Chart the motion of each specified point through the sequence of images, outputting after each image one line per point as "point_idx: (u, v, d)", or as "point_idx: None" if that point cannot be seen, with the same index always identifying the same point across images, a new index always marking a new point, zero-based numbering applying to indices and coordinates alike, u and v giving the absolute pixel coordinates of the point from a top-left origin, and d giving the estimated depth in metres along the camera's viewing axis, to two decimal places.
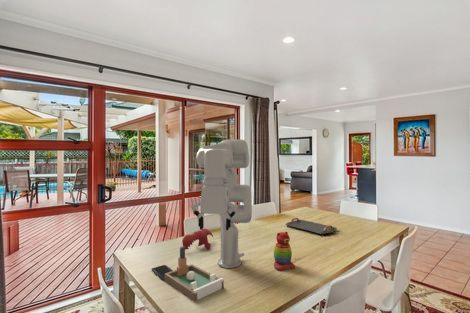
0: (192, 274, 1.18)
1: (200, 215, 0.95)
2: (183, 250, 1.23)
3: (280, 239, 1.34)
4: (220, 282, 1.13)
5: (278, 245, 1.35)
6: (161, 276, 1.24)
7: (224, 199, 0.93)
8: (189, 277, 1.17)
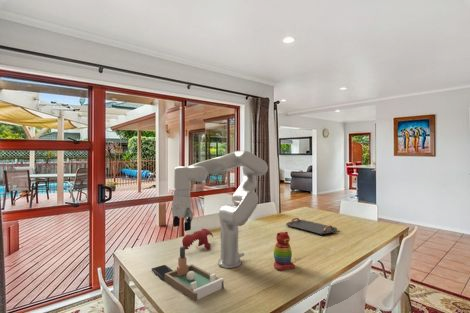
0: (192, 274, 1.18)
1: None
2: (183, 250, 1.23)
3: (280, 239, 1.34)
4: (220, 282, 1.13)
5: (278, 245, 1.35)
6: (161, 276, 1.24)
7: None
8: (189, 277, 1.17)
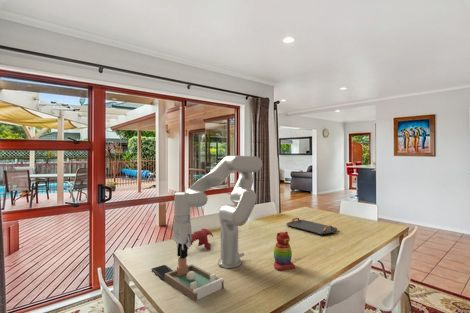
0: (192, 274, 1.18)
1: None
2: None
3: (280, 239, 1.34)
4: (220, 282, 1.13)
5: (278, 245, 1.35)
6: (161, 276, 1.24)
7: None
8: (189, 277, 1.17)
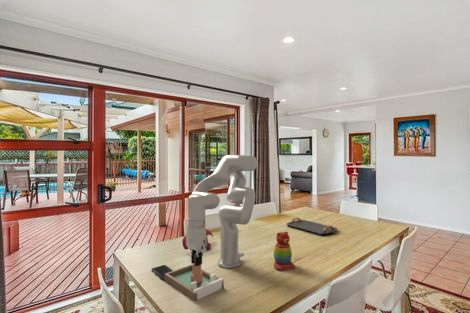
0: (204, 281, 1.12)
1: None
2: None
3: (280, 239, 1.34)
4: (220, 282, 1.13)
5: (278, 245, 1.35)
6: (161, 276, 1.24)
7: None
8: (202, 285, 1.10)
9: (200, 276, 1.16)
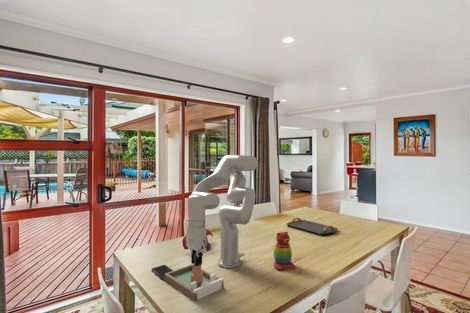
0: (204, 281, 1.12)
1: None
2: None
3: (280, 239, 1.34)
4: (220, 282, 1.13)
5: (278, 245, 1.35)
6: (161, 276, 1.24)
7: None
8: (202, 285, 1.10)
9: (200, 276, 1.16)
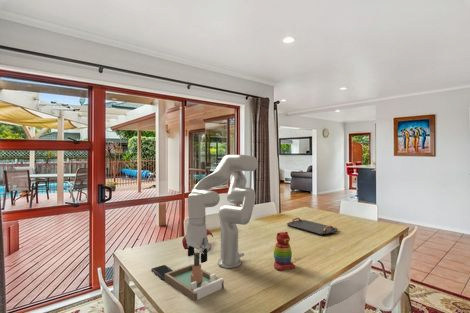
0: (204, 281, 1.12)
1: None
2: (197, 257, 1.15)
3: (280, 239, 1.34)
4: (220, 282, 1.13)
5: (278, 245, 1.35)
6: (161, 276, 1.24)
7: None
8: (202, 285, 1.10)
9: (200, 276, 1.16)
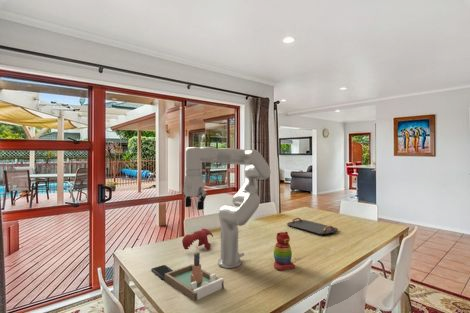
0: (204, 281, 1.12)
1: None
2: (197, 257, 1.15)
3: (280, 239, 1.34)
4: (220, 282, 1.13)
5: (278, 245, 1.35)
6: (161, 276, 1.24)
7: None
8: (202, 285, 1.10)
9: (200, 276, 1.16)
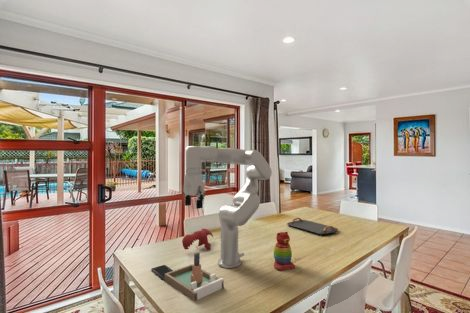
0: (204, 281, 1.12)
1: None
2: (197, 257, 1.15)
3: (280, 239, 1.34)
4: (220, 282, 1.13)
5: (278, 245, 1.35)
6: (161, 276, 1.24)
7: None
8: (202, 285, 1.10)
9: (200, 276, 1.16)
